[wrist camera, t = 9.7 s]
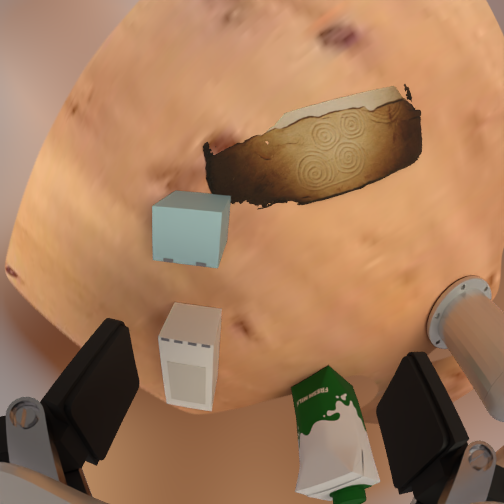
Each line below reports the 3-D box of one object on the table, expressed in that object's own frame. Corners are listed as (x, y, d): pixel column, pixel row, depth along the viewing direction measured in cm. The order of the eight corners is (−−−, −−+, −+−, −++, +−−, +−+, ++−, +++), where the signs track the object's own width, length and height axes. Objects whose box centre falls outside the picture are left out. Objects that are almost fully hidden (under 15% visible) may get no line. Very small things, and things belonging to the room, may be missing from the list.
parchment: (409, 83, 24) (413, 82, 23) (432, 165, 27) (436, 166, 26) (195, 145, 28) (193, 145, 28) (228, 229, 32) (227, 231, 31)
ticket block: (221, 308, 35) (213, 346, 28) (217, 374, 40) (211, 411, 33) (174, 302, 35) (157, 337, 28) (178, 368, 40) (166, 404, 33)
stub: (231, 195, 30) (221, 212, 23) (227, 240, 32) (217, 268, 25) (175, 190, 30) (152, 206, 23) (174, 234, 32) (152, 260, 25)
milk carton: (315, 410, 43) (329, 514, 24) (281, 386, 40) (286, 507, 22) (360, 384, 40) (390, 493, 22) (329, 357, 38) (358, 485, 19)
